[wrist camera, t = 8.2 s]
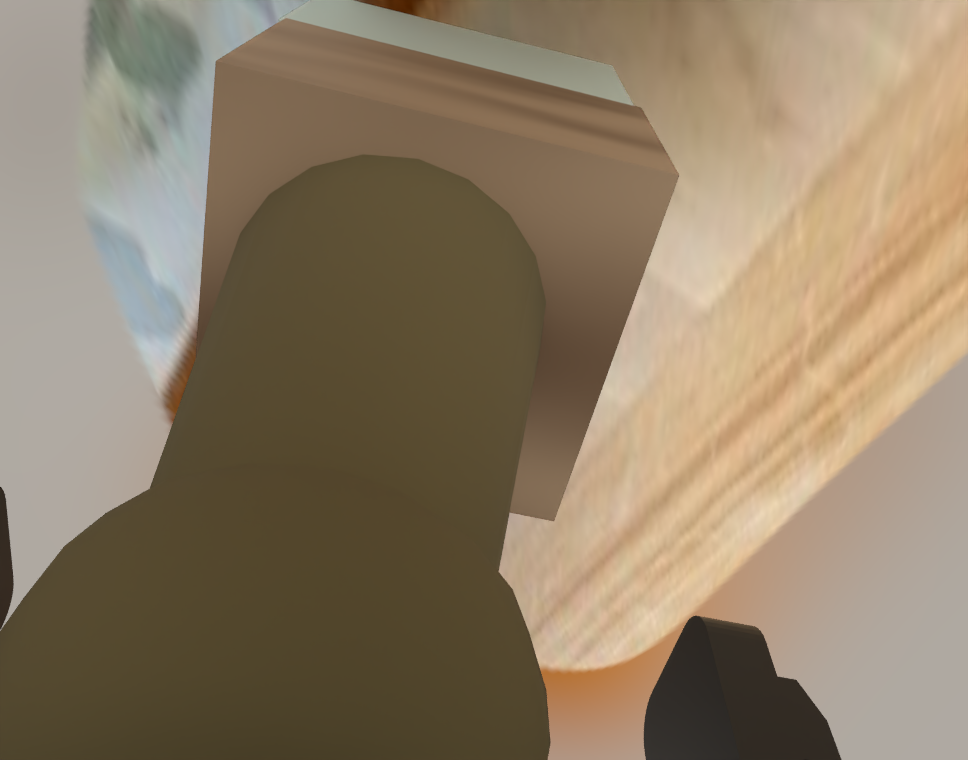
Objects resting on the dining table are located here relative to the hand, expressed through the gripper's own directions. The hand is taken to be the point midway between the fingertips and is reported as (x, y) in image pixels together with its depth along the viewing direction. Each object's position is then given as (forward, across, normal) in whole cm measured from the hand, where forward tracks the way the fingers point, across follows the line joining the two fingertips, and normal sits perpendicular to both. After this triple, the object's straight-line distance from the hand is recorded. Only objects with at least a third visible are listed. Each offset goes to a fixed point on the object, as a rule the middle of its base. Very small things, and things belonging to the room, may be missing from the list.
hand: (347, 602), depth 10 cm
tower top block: (+12, 0, 0) cm, 12 cm away
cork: (+7, 0, 0) cm, 7 cm away
